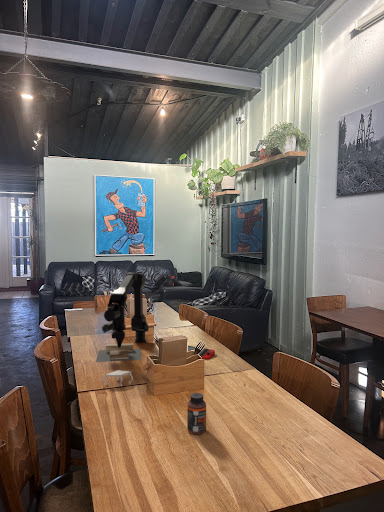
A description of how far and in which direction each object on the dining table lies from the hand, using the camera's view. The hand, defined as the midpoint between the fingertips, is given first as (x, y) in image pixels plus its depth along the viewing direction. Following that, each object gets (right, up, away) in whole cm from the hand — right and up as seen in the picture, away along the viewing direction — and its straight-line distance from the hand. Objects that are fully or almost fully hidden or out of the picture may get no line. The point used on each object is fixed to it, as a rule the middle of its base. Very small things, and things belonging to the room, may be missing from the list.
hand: (119, 347), depth 187 cm
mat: (0, -4, +1) cm, 5 cm away
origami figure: (+6, -7, -35) cm, 36 cm away
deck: (+1, -2, -2) cm, 3 cm away
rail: (-1, -4, +7) cm, 8 cm away
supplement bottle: (+39, -9, -71) cm, 81 cm away
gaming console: (+34, -5, +6) cm, 35 cm away
